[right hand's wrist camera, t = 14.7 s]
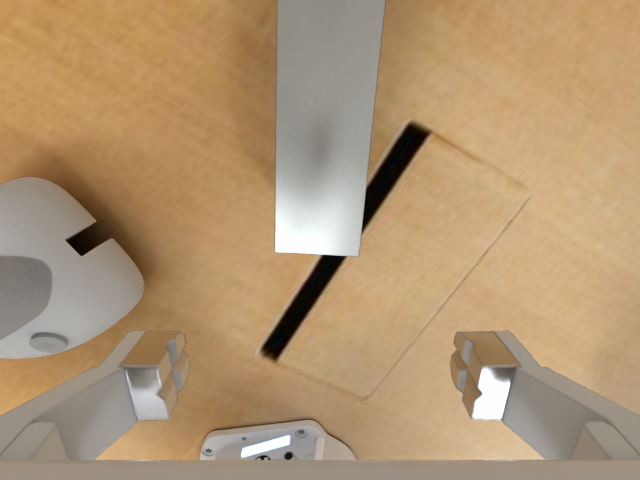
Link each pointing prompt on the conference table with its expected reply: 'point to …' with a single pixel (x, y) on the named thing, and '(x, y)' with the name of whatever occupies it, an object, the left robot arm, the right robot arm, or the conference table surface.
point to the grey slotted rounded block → (56, 273)
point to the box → (324, 121)
